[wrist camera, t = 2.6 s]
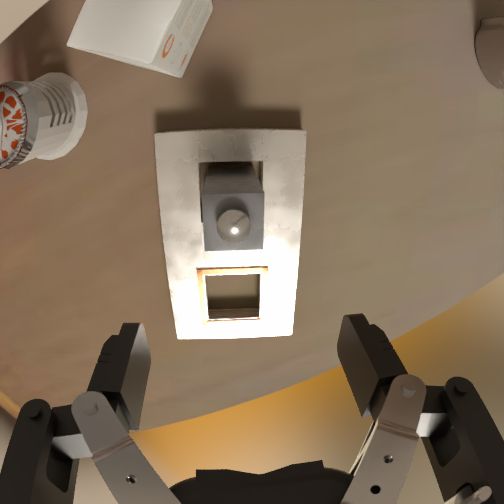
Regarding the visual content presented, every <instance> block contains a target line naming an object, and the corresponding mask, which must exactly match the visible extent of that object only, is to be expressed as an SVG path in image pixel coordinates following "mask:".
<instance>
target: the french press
mask: <svg viewBox="0 0 504 504" xmlns="http://www.w3.org/2000/svg"><path fill="white" fill-rule="evenodd" d="M22 94H23V95H22ZM20 95H22V97H20ZM87 113H88V108H87V103H86V97H85V93H84V91H83V90H82V88H81V87H80V85H79V84H78V82H77V81H76V80H75V79H74V78H72V77H70V76H68V75H67V74H65V73H47V74H45V75H43V76H41V77H39V78H37V79H35V80H34V81H11V82H5V83H2V84H1V85H0V169H2V168H6V169H9V168H12V167H14V166H16V165H19V164H21V163H23V162H26V161H28V160H30V159H33V158H35V157H36V158H38V159H46V160H53V159H56V158H59V157H61V156H64V155H66V154H67V153H68V152H69V151H70V150H71V149H72V148H73V147H74V146H76V145H77V143H78V141H79V139H80V137H81V135H82V133H83V131H84V129H85V126H86V119H87ZM21 150H24V151H27V152H29V154H28V153H24V152H21ZM19 154H23V155H26V156H27V157H25V156H21V155H19ZM16 157H19V158H25V159H16ZM13 161H22V162H20V163H16V162H13Z"/></svg>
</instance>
